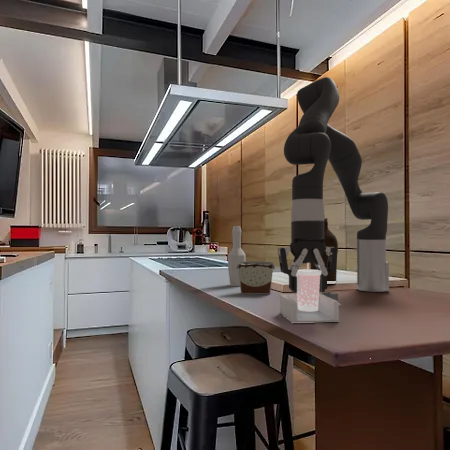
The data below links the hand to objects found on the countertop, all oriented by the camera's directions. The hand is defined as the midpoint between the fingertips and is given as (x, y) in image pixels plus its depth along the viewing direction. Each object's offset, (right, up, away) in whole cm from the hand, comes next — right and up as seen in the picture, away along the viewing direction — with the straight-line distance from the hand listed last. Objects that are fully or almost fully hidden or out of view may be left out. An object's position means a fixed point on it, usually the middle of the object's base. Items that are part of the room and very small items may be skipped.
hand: (307, 291), depth 86 cm
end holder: (0, -6, 0) cm, 6 cm away
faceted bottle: (-15, -7, +51) cm, 54 cm away
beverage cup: (0, -4, 0) cm, 4 cm away
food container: (-9, -7, +36) cm, 38 cm away
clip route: (+6, -6, +12) cm, 14 cm away
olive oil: (+19, -7, +57) cm, 61 cm away
